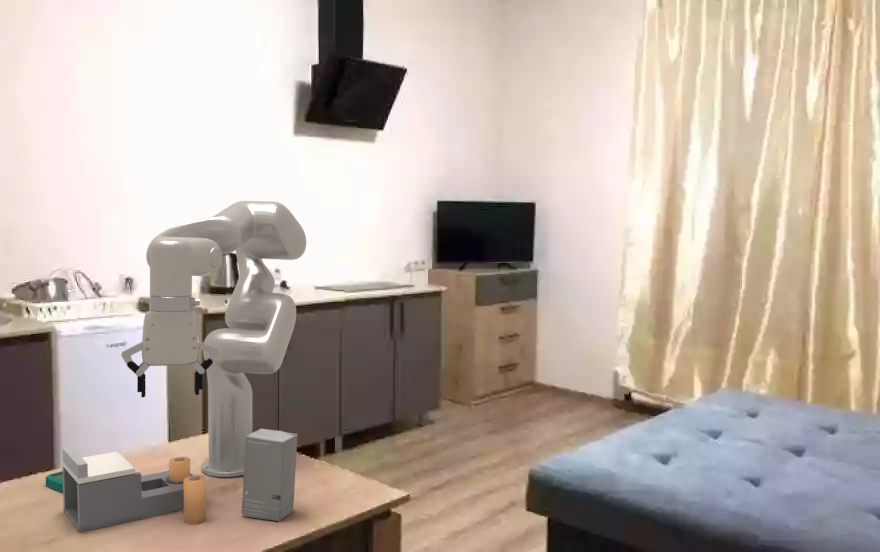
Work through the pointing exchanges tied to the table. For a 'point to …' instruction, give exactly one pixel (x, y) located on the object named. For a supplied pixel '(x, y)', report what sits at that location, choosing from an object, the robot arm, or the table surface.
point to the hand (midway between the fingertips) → (170, 394)
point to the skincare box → (269, 474)
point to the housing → (125, 496)
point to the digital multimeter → (55, 481)
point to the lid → (95, 466)
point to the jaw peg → (194, 499)
